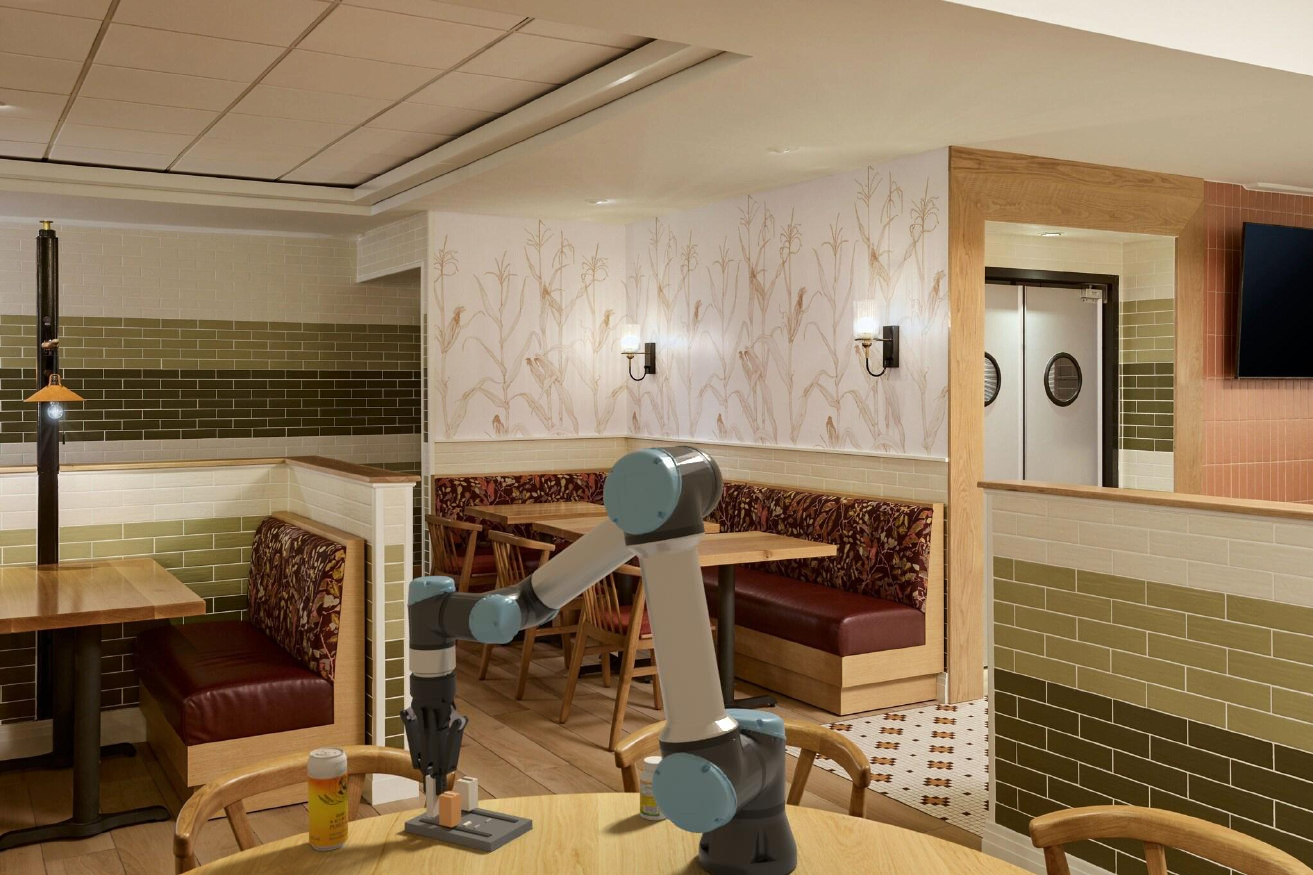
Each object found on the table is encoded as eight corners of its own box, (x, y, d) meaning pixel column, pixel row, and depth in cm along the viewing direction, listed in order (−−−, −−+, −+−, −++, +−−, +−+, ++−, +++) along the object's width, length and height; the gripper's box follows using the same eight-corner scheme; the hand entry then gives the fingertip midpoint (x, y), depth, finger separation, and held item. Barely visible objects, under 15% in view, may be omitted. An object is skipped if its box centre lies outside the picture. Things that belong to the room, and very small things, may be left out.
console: (532, 828, 187) (532, 818, 187) (491, 851, 178) (491, 841, 178) (448, 809, 196) (448, 799, 196) (404, 831, 187) (404, 820, 187)
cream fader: (478, 806, 192) (477, 777, 192) (469, 811, 190) (468, 781, 190) (466, 803, 193) (465, 775, 193) (457, 808, 191) (456, 779, 191)
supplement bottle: (647, 822, 190) (646, 766, 189) (635, 812, 194) (634, 757, 194) (676, 817, 192) (676, 762, 191) (663, 807, 197) (663, 753, 196)
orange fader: (461, 822, 185) (460, 792, 185) (451, 827, 183) (451, 796, 183) (448, 819, 186) (448, 789, 186) (439, 824, 184) (438, 794, 184)
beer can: (337, 853, 178) (335, 759, 178) (301, 850, 179) (300, 756, 179) (355, 838, 184) (353, 747, 183) (320, 835, 185) (318, 745, 185)
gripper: (478, 670, 185) (481, 812, 186) (418, 662, 192) (420, 799, 193) (448, 681, 179) (451, 828, 180) (387, 672, 185) (389, 814, 186)
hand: (435, 813), depth 186 cm, fingers closed
